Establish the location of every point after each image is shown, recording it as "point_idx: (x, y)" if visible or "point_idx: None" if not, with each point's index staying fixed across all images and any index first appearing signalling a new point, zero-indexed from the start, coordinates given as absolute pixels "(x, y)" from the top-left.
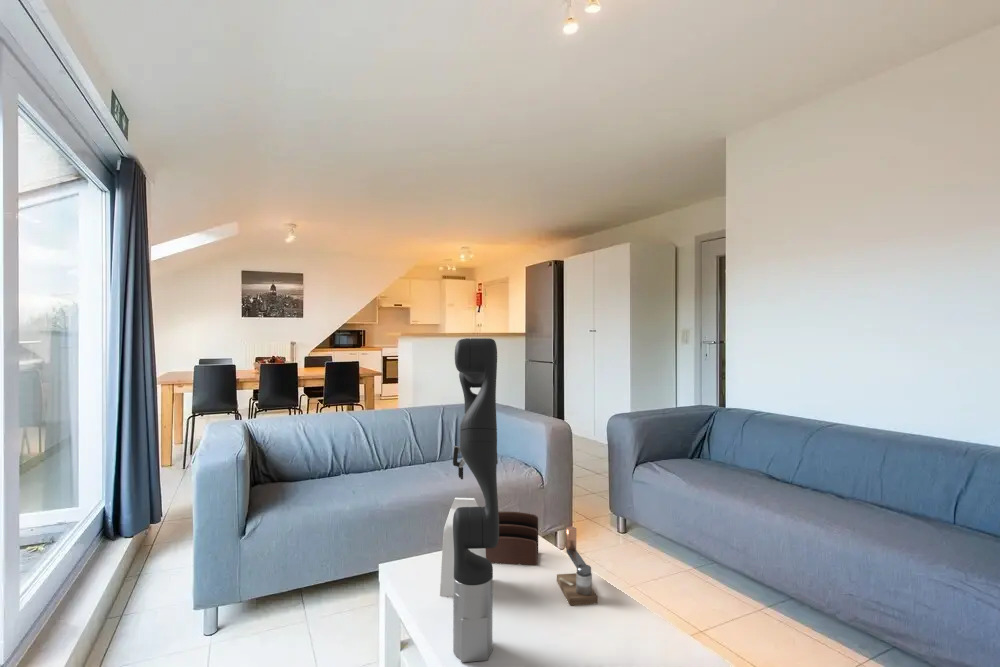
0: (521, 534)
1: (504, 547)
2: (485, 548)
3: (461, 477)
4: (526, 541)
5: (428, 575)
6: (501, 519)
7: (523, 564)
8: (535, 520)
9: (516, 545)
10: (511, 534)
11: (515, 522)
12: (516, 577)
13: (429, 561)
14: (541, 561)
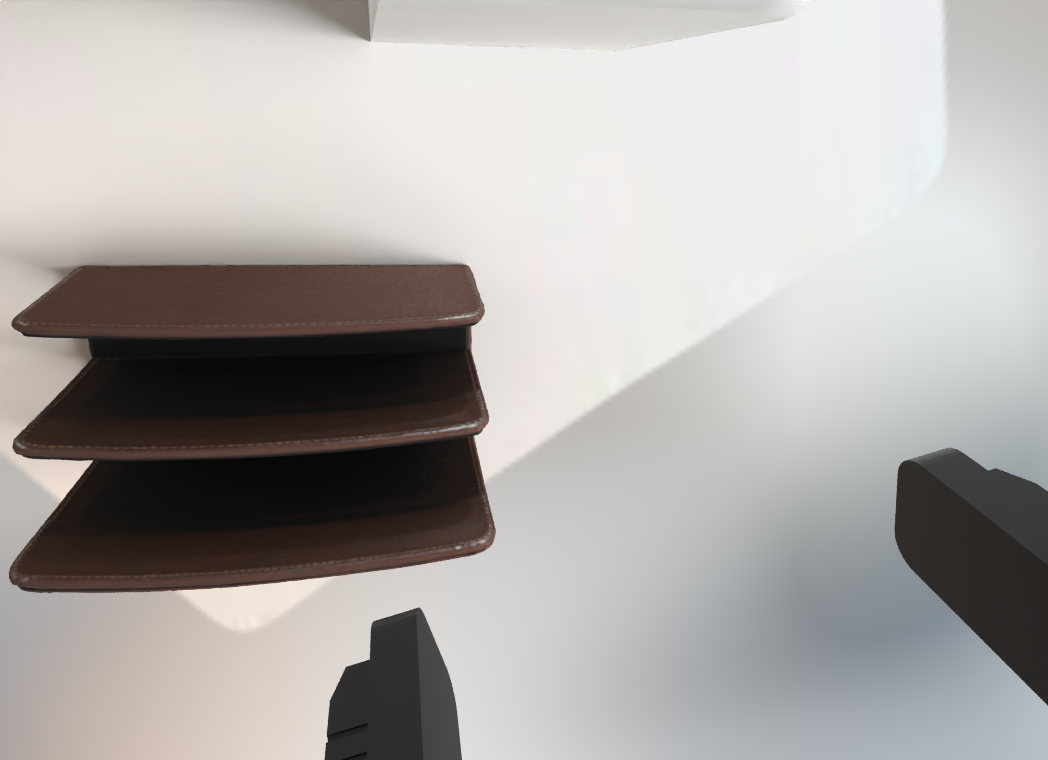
0: (163, 419)
1: (286, 301)
2: (373, 17)
3: (965, 464)
4: (96, 322)
5: (728, 61)
6: (335, 529)
7: (171, 266)
8: (42, 554)
9: (190, 309)
10: (245, 414)
11: (224, 527)
12: (175, 80)
13: (733, 242)
14: None
